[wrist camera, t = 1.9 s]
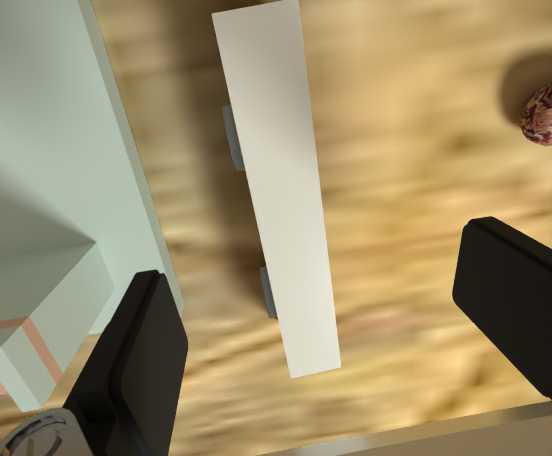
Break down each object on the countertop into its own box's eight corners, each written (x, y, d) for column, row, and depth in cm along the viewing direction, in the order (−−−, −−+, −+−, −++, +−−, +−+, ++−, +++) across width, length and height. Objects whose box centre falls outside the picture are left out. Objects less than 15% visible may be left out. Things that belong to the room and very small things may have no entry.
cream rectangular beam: (320, 311, 23) (341, 367, 18) (273, 321, 23) (282, 380, 18) (279, 25, 15) (297, -3, 11) (209, 38, 15) (196, 16, 10)
